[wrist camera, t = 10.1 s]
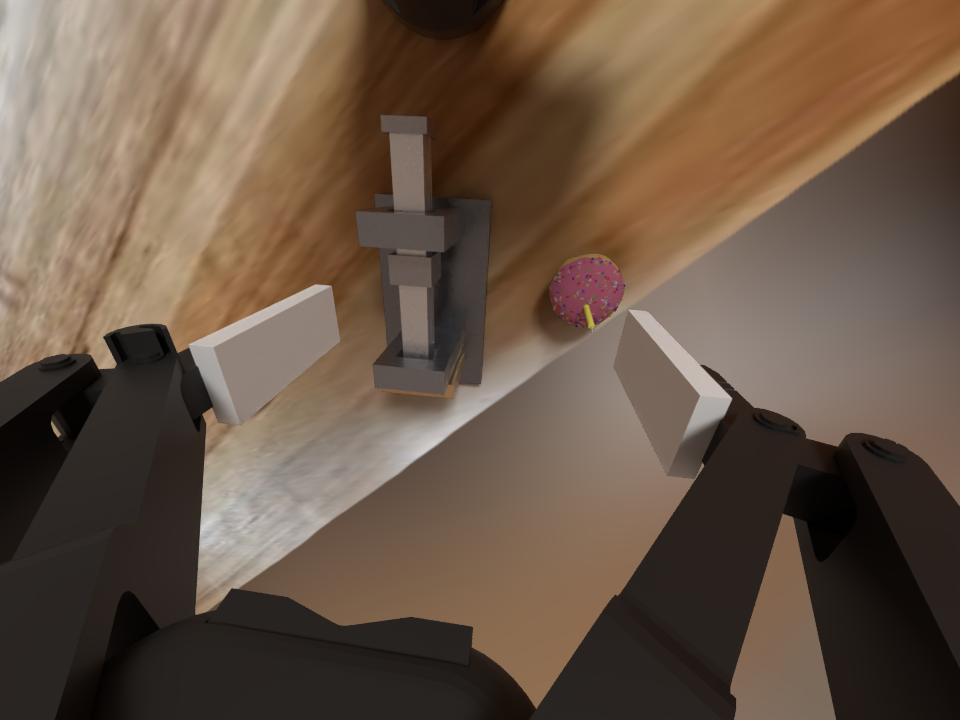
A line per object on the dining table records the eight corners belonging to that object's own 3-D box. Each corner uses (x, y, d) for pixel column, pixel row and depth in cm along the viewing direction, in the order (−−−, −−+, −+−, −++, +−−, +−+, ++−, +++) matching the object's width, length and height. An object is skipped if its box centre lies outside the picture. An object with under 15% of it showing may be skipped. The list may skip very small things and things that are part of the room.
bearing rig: (379, 193, 42) (321, 196, 30) (491, 200, 41) (478, 205, 29) (393, 370, 53) (355, 423, 41) (481, 379, 52) (469, 436, 40)
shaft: (394, 122, 32) (377, 114, 29) (439, 124, 32) (428, 116, 28) (407, 348, 44) (396, 364, 40) (441, 351, 43) (433, 368, 39)
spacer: (403, 346, 50) (380, 377, 42) (464, 352, 49) (453, 384, 41) (404, 359, 50) (382, 391, 42) (464, 364, 50) (453, 398, 42)
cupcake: (604, 317, 46) (629, 356, 35) (541, 309, 46) (546, 346, 36) (622, 251, 42) (655, 273, 31) (552, 244, 42) (562, 263, 32)
